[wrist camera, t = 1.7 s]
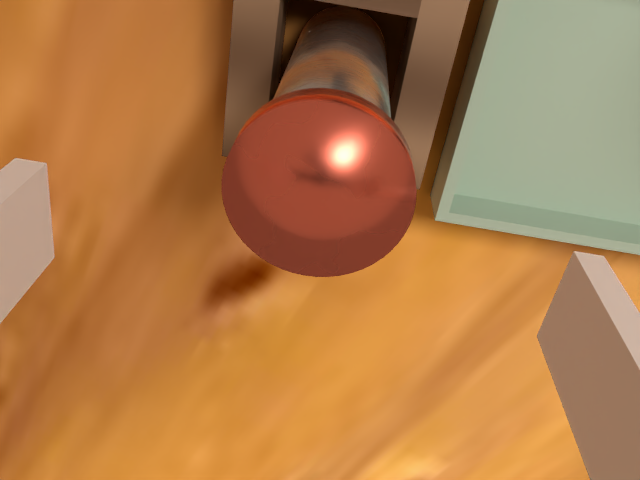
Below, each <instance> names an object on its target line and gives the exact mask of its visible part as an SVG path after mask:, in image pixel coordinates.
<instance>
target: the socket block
mask: <svg viewBox="0 0 640 480" xmlns="http://www.w3.org/2000/svg"><path fill="white" fill-rule="evenodd" d="M316 1H322V2H327V3H333V4H339V5H344V6H350V7H356V8H361V9H367V10H373V11H379V12H384V13H390V14H396V15H401V16H407V17H409V18H408V23H407V28H406V32H405V37H404V41H403V46H402V50H401V55H400V59H399V64H398V69H397V73H396V78H395V82H394V87H393V91H392V96H391V100H390V112H391V119H392V120H393V121H394V123H395V124H396V125H397V126H398V128H399V129H400V131H401V132H402V134H403V136H404V137H405V139H406V141H407V144H408V146H409V149H410V152H411V156H412V160H413V166H414V173H415V180H416V189H419V190H420V186H421V182H422V179H423V175H424V171H425V167H426V164H427V160H428V156H429V152H430V149H431V145H432V141H433V137H434V134H435V130H436V126H437V122H438V119H439V115H440V111H441V107H442V104H443V100H444V96H445V92H446V89H447V85H448V81H449V77H450V74H451V70H452V66H453V62H454V59H455V55H456V51H457V47H458V44H459V40H460V36H461V32H462V29H463V25H464V21H465V17H466V13H467V10H468V6H469V2H470V0H316ZM287 8H288V0H234V1H233V15H232V28H231V42H230V55H229V69H228V82H227V96H226V109H225V123H224V136H223V149H222V156H225V157H227V156H228V154H229V152H230V150H231V148H232V146H233V144H234V142H235V140H236V138H237V136H238V134H239V132H240V130H241V129H242V127H243V126H244V124H245V123H246V121H247V120H248V119H249V118H250V117H251V116H252V115H253V114H254V113H255V112H256V111H257V110H258V109H259V108H261V107H262V106H263V105H265V104H266V103H268V102H269V101H271V100H273V98H274V96H275V94H276V91H277V89H278V84H279V76H280V67H281V59H282V50H283V42H284V34H285V25H286V17H287Z"/></svg>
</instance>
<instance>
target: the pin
mask: <svg viewBox="0 0 640 480" xmlns="http://www.w3.org/2000/svg"><path fill="white" fill-rule="evenodd" d="M416 191H417V189H416V180H415V173H414V166H413V160H412V156H411V152H410V149H409V146H408V144H407V141H406V139H405V137H404V136H403V134H402V132H401V131H400V129H399V128H398V126H397V125H396V124H395V123H394V121H393V120H392V119H391V112H390V99H389V87H388V74H387V62H386V50H385V42H384V38H383V35H382V32H381V30H380V28H379V27H378V25H377V24H376V22H375V21H374V20H373V19H372V18H371V17H370V16H369V15H367V14H366V13H364V12H363V11H361V10H359V9H356V8H353V7H348V6H335V7H330V8H327V9H324V10H322V11H320V12H319V13H317V14H316V15H314V16H313V17H312V18H311V19H310V20H309V21H308V22H307V24H306V25H305V27H304V28H303V30H302V32H301V34H300V37H299V39H298V42H297V44H296V46H295V49H294V51H293V53H292V56H291V58H290V61H289V63H288V65H287V68H286V70H285V72H284V75H283V77H282V79H281V82H280V84H279V87H278V89H277V91H276V94H275V96H274V98H273V100H271V101H269V102H268V103H266V104H265V105H263V106H262V107H261V108H259V109H258V110H257V111H256V112H255V113H254V114H253V115H252V116H251V117H250V118H249V119H248V120H247V121H246V123H245V124H244V126H243V127H242V129H241V130H240V132H239V134H238V136H237V138H236V140H235V142H234V144H233V146H232V148H231V150H230V152H229V154H228V156H227V159H226V162H225V165H224V169H223V175H222V197H223V203H224V207H225V210H226V214H227V216H228V218H229V221H230V223H231V225H232V227H233V228H234V230H235V231H236V233H237V235H238V236H239V237H240V238H241V240H242V241H243V242H244V243H245V244H246V245H247V246H248V247H249V248H250V249H251V250H252V251H253V252H254V253H256V254H257V255H258V256H259V257H261V258H262V259H264V260H266V261H267V262H269V263H270V264H272V265H274V266H277V267H279V268H281V269H283V270H286V271H289V272H292V273H296V274H301V275H306V276H315V277H331V276H340V275H344V274H349V273H353V272H356V271H359V270H361V269H364V268H366V267H368V266H370V265H372V264H374V263H375V262H377V261H378V260H380V259H382V258H383V257H384V256H385V255H387V254H388V253H389V252H390V251H391V250H392V249H393V248H394V247H395V246H396V245H397V244H398V243H399V241H400V240H401V238H402V237H403V236H404V234H405V233H406V231H407V229H408V227H409V225H410V223H411V220H412V217H413V214H414V210H415V205H416Z"/></svg>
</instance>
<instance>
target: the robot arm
mask: <svg viewBox="0 0 640 480" xmlns="http://www.w3.org/2000/svg"><path fill="white" fill-rule="evenodd" d="M54 258H55V255H54V243H53V231H52V219H51V207H50V195H49V183H48V171H47V163H43V162H37V161H31V160H25V159H19V158H15V159H13V160H12V161H11V162H10V163H8V164H7V165H6V166H5V167H3V168H2V169H1V170H0V323H1V322H2V321H3V320H4V318H5V317H6V316H7V315H8V314H9V312H10V311H11V310H12V309H13V307H14V306H15V305H16V304H17V303H18V301H19V300H20V299H21V298H22V297H23V295H24V294H25V293H26V292H27V290H28V289H29V288H30V287H31V286H32V284H33V283H34V282H35V281H36V279H37V278H38V277H39V276H40V275H41V273H42V272H43V271H44V270H45V268H46V267H47V266H48V265H49V264H50V262H51V261H52V260H53V259H54ZM537 338H538V341H539V343H540V346H541V349H542V351H543V354H544V357H545V359H546V362H547V365H548V368H549V370H550V373H551V376H552V378H553V381H554V384H555V386H556V389H557V392H558V394H559V397H560V400H561V402H562V405H563V408H564V411H565V413H566V416H567V419H568V421H569V424H570V427H571V429H572V432H573V435H574V437H575V440H576V443H577V445H578V448H579V451H580V453H581V456H582V459H583V462H584V464H585V467H586V470H587V472H588V475H589V478H590V480H640V313H639V311H638V310H637V308H636V306H635V305H634V303H633V302H632V300H631V298H630V297H629V295H628V294H627V292H626V291H625V289H624V287H623V286H622V284H621V283H620V281H619V279H618V278H617V276H616V275H615V273H614V271H613V270H612V268H611V267H610V265H609V263H608V262H607V260H606V259H605V257H604V256H601V255H595V254H589V253H583V252H577V251H573V254H572V256H571V258H570V261H569V263H568V265H567V268H566V270H565V272H564V274H563V277H562V279H561V281H560V284H559V286H558V288H557V291H556V293H555V295H554V298H553V300H552V302H551V304H550V307H549V309H548V311H547V314H546V316H545V318H544V321H543V323H542V325H541V327H540V330H539V332H538V334H537Z"/></svg>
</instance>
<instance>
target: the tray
mask: <svg viewBox="0 0 640 480" xmlns="http://www.w3.org/2000/svg"><path fill="white" fill-rule="evenodd" d="M430 197H431V202H432V208H433V213H434V218H435V220H436V221H442V222H448V223H453V224H459V225H465V226H471V227H477V228H483V229H489V230H495V231H501V232H507V233H513V234H519V235H524V236H530V237H536V238H542V239H548V240H554V241H560V242H566V243H572V244H578V245H584V246H590V247H596V248H601V249H607V250H613V251H619V252H625V253H631V254H637V255H640V0H484V3H483V7H482V10H481V14H480V17H479V21H478V25H477V28H476V32H475V35H474V39H473V43H472V46H471V50H470V53H469V57H468V61H467V64H466V68H465V71H464V75H463V79H462V82H461V86H460V89H459V93H458V97H457V100H456V104H455V107H454V111H453V115H452V118H451V122H450V125H449V129H448V133H447V136H446V140H445V143H444V147H443V150H442V154H441V158H440V161H439V165H438V168H437V172H436V176H435V179H434V183H433V186H432V190H431V194H430Z"/></svg>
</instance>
